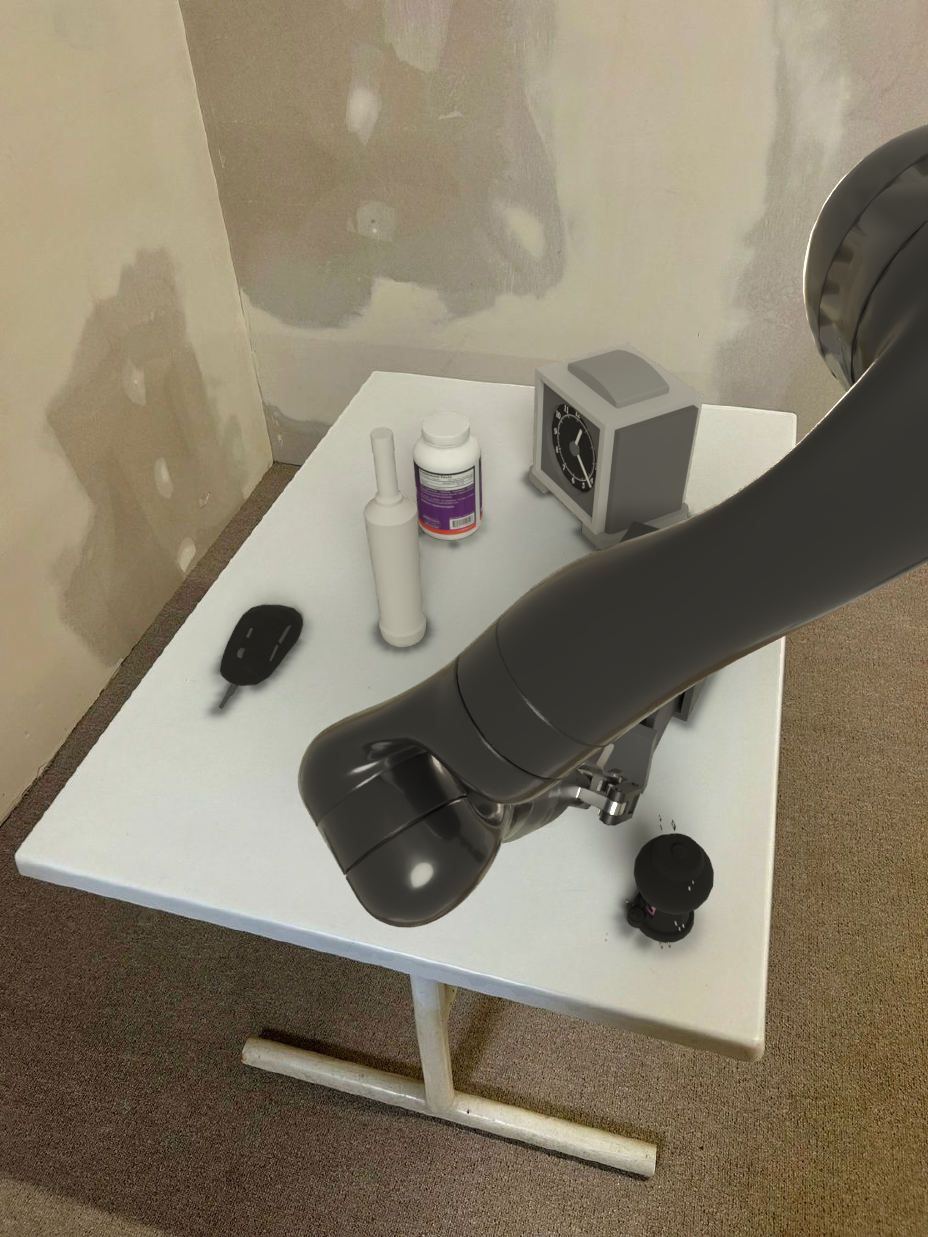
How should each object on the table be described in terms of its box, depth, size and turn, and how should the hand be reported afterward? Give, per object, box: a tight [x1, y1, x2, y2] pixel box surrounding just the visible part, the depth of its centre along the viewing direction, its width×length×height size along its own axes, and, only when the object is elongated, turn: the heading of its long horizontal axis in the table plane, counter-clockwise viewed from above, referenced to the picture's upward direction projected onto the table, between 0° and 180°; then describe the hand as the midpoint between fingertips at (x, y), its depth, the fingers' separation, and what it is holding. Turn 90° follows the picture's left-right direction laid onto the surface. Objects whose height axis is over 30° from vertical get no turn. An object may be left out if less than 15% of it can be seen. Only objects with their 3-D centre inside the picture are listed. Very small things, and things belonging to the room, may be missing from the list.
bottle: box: [362, 426, 427, 648], centre depth 86 cm, size 5×5×25 cm
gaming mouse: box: [218, 603, 304, 710], centre depth 91 cm, size 6×15×4 cm, turn 161°
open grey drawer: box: [578, 692, 684, 795], centre depth 80 cm, size 19×11×8 cm, turn 151°
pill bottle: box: [412, 411, 484, 541], centre depth 103 cm, size 8×8×14 cm
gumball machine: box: [625, 813, 715, 949], centre depth 67 cm, size 7×6×10 cm
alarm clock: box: [528, 341, 705, 550], centre depth 105 cm, size 18×13×18 cm
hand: (567, 761), depth 72 cm, fingers open, 8 cm apart
